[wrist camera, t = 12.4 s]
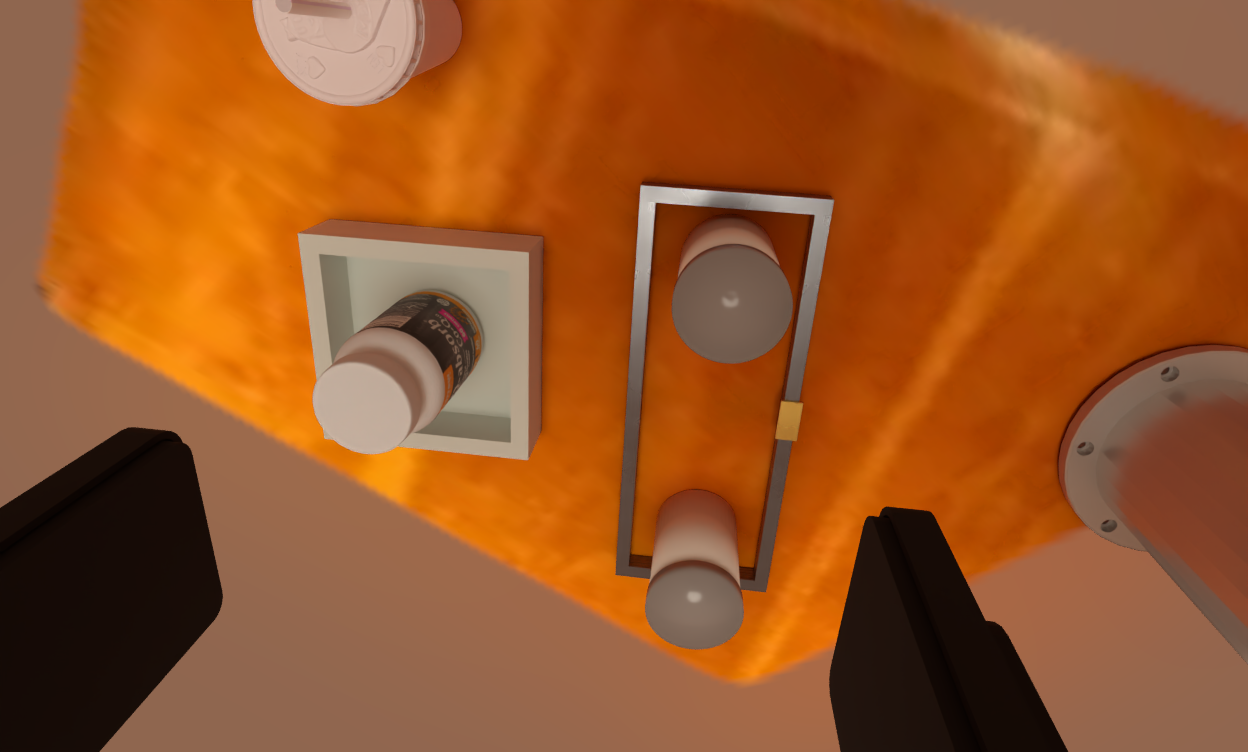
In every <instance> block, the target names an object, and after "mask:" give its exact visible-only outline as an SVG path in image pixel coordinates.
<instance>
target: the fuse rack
mask: <svg viewBox="0 0 1248 752" xmlns="http://www.w3.org/2000/svg"><path fill="white" fill-rule="evenodd" d="M657 203H667V204H680V205H693V206H706V207H719V208H732V209H745V210H758V211H771V212H784V213H797V214H810V215H811V219H810V225H809V231H808V237H807V244H806V250H805V256H804V262H803V268H802V274H801V281H800V287H799V293H798V299H797V305H796V311H795V318H794V324H793V330H792V336H791V342H790V348H789V355H788V361H787V367H786V373H785V379H784V385H783V391H782V398H781V403H780V409H779V415H778V421H777V427H776V434H775V441H774V447H773V453H772V459H771V465H770V472H769V478H768V484H767V490H766V496H765V502H764V509H763V515H762V521H761V527H760V533H759V539H758V545H757V552H756V558H755V564H754V568H745V567H739V576H740V589H742V590H751V591H759V592H766V589H767V583H768V577H769V572H770V566H771V560H772V554H773V549H774V543H775V537H776V531H777V526H778V520H779V514H780V508H781V503H782V497H783V491H784V485H785V480H786V474H787V468H788V462H789V457H790V451H791V445H792V441H797V435H798V430H799V424H800V418H801V413H802V407H803V402H801V401H799V399H800V393H801V388H802V382H803V376H804V370H805V365H806V359H807V353H808V347H809V342H810V336H811V330H812V324H813V319H814V313H815V307H816V301H817V296H818V290H819V284H820V278H821V273H822V267H823V261H824V255H825V250H826V244H827V238H828V232H829V227H830V221H831V215H832V209H833V204H834V199H833V198H832V197H831V196H828V195H815V194H802V193H788V192H775V191H762V190H748V189H735V188H722V187H709V186H695V185H682V184H669V183H655V182H642V184H641V189H640V205H639V220H638V236H637V251H636V266H635V282H634V297H633V313H632V328H631V344H630V359H629V375H628V390H627V406H626V421H625V437H624V452H623V468H622V483H621V499H620V514H619V530H618V545H617V561H616V575H621V576H630V577H638V578H647V579H650V577H651V567H652V558H653V557H648V556H639V555H631V541H632V528H633V514H634V501H635V487H636V474H637V460H638V447H639V433H640V420H641V406H642V393H643V379H644V366H645V352H646V339H647V325H648V312H649V298H650V285H651V271H652V258H653V244H654V231H655V217H656V204H657Z"/></svg>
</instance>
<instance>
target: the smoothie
mask: <svg viewBox="0 0 1248 752" xmlns="http://www.w3.org/2000/svg"><path fill="white" fill-rule="evenodd" d="M253 11H254V17H255V22H256V25H257V29H258V32H259V35H260V38H261V40H262V42H263V45H264V47H265V49H266V51H267V52H268V54H269V56H270V58H271V59H272V61H273V62H274V64H275V65H276V66H277V67H278V69H279V70H280V71H281V72H282V73H283V75H284V76H285V77H286V78H287V79H288V80H289V81H290V82H292V83H293V84H294V85H295V86H296V87H298V88H299V89H300V90H302V91H303V92H305V93H307V94H308V95H310V96H312V97H314V98H316V99H319V100H321V101H324V102H327V103H331V104H336V105H351V106H362V105H369V104H376V103H378V102H380V101H382V100H384V99H386V98H388V97H390V96H392V95H394V94H395V93H396V92H397V91H398V90H399V89H401V88H402V87H403V86H404V85H405V84H406V83H407V82H408V81H409V79H410V78H412V77H415V76H417V75H419V74H421V73H423V72H425V71H427V70H429V69H432V68H434V67H436V66H438V65H440V64H442V63H444V62H446V61H447V60H449V59H450V58H451V57H452V56H453V55H454V53H455V52H456V50H457V49H458V47H459V44H460V41H461V36H462V22H461V17H460V14H459V11H458V9H457V6H456V5H455V3H454V1H453V0H253Z"/></svg>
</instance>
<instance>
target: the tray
mask: <svg viewBox="0 0 1248 752" xmlns="http://www.w3.org/2000/svg"><path fill="white" fill-rule="evenodd" d="M298 239H299V247H300V255H301V262H302V270H303V278H304V285H305V293H306V301H307V308H308V316H309V324H310V331H311V339H312V347H313V354H314V362H315V370H316V378H317V380H318V379H319V377H320V376H321V375H322V373H323V372H324V371H325V370H326V369H328V368H329V367H330V366H331V365H332V364H333V363H334V359H335V357H336V355H337V353H338V351H339V350H340V348H341V347H342V345H343V344H344V343H345V342H346V341H347V340H348V339H349V338H350V337H351V336H353V335H354V334H355V333H357V332H358V331H360V330H361V329H362V328H364V327H365V326H366V325H368V324H369V323H370V322H372V321H373V320H374V319H376V318H377V317H378V316H379V315H381V314H382V313H383V312H384V311H386V310H387V309H388V308H390V307H391V306H392V305H393V304H395V303H396V302H398V301H399V300H400V299H402V298H404V297H405V296H407V295H409V294H412V293H414V292H418V291H424V290H434V291H440V292H444V293H447V294H449V295H452V296H453V297H455V298H457V299H459V300H460V301H461V302H463V303H464V304H465V305H466V306H467V307H468V308H469V309H470V310H471V311H472V313H473V314H474V316H475V317H476V319H477V321H478V323H479V325H480V328H481V331H482V336H483V349H482V354H481V357H480V359H479V362H478V363H477V365H476V367H475V368H474V370H473V371H472V373H471V374H470V375H469V376H468V378H467V379H466V380H465V381H464V383H463V384H462V385H461V386H460V388H459V389H458V390H457V392H456V393H455V394H454V395H453V397H452V398H451V399H450V400H449V401H448V403H447V404H446V405H445V406H444V408H443V409H442V410H441V411H440V413H439V414H438V415H437V417H436V418H435V419H434V420H433V421H432V422H431V423H430V424H428V425H427V426H426V427H424V428H423V429H421V430H419V431H417V432H414V433H412V434H410V435H409V436H408V437H407V438H406V439H405V440H404V441H403V442H402V443H401V444H400V445H398V446H399V447H408V448H418V449H427V450H437V451H446V452H456V453H465V454H475V455H484V456H494V457H504V458H513V459H523V460H529V457H530V455H531V453H532V451H533V448H534V446H535V444H536V442H537V439H538V437H539V435H540V433H541V406H542V311H543V236H531V235H519V234H507V233H494V232H482V231H470V230H458V229H445V228H433V227H421V226H408V225H396V224H384V223H372V222H359V221H347V220H335V219H329V220H327V221H325V222H322V223H320V224H318V225H316V226H313V227H311V228H309V229H306V230H304V231H302V232H299V233H298ZM323 431H324V429H323ZM324 439H332V438H331V437H330V436H329V435H328V434H327V433H326V432H325V431H324ZM332 440H333V439H332Z"/></svg>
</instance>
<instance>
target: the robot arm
mask: <svg viewBox="0 0 1248 752" xmlns="http://www.w3.org/2000/svg"><path fill="white" fill-rule="evenodd" d="M1058 467H1059V481H1060V484H1061V487H1062V490H1063V493H1064V496H1065V498H1066V500H1067V501H1068V503H1069V504H1070V506H1071V507H1072V509H1073V511H1074V512H1075V513H1076V514H1077V515H1078V516H1079V518H1080V519H1081V520H1082V521H1083V522H1084V523H1085V525H1086V526H1087V527H1089V528H1090V529H1091V530H1092V531H1094V532H1095V533H1096V534H1097V535H1099V536H1100V537H1102V538H1105V539H1107V540H1109V541H1111V542H1113V543H1115V544H1117V545H1120V546H1123V547H1127V548H1131V549H1134V550H1138V551H1147V552H1149V553H1150V555H1151V556H1152V557H1153V558H1154V559H1155V560H1156V561H1157V563H1158V564H1159V565H1160V566H1161V567H1162V568H1163V569H1164V570H1165V572H1166V573H1167V574H1168V575H1169V576H1170V577H1171V578H1172V579H1173V580H1174V582H1175V583H1176V584H1177V585H1178V586H1179V587H1180V588H1181V590H1182V591H1183V592H1184V593H1185V594H1186V595H1187V596H1188V598H1189V599H1190V600H1191V601H1192V602H1193V603H1194V604H1195V605H1196V607H1197V608H1198V609H1199V610H1200V611H1201V612H1202V613H1203V614H1204V616H1206V618H1207V619H1208V620H1209V621H1210V622H1211V623H1212V625H1213V626H1214V627H1215V628H1216V629H1217V630H1218V631H1219V632H1220V634H1222V636H1223V637H1224V638H1225V639H1226V640H1227V641H1228V643H1230V645H1231V646H1232V647H1233V648H1234V649H1235V651H1237V652H1238V654H1239V655H1240V656H1241V657H1242V658H1243V660H1245V662H1246V663H1247V664H1248V349H1245V348H1241V347H1235V346H1223V345H1204V346H1191V347H1185V348H1181V349H1176V350H1172V351H1168V352H1164V353H1161V354H1158V355H1156V356H1153V357H1151V358H1148V359H1145V360H1143V361H1140V362H1138V363H1136V364H1135V365H1133V366H1131V367H1129V368H1128V369H1126V370H1124V371H1122V372H1120V373H1119V374H1117V375H1116V376H1114V377H1113V378H1112V379H1110V380H1109V381H1108V382H1107V383H1105V384H1104V385H1103V386H1101V387H1100V388H1099V389H1098V390H1097V391H1096V392H1095V393H1094V394H1093V395H1092V396H1091V397H1090V398H1089V399H1088V400H1087V401H1086V402H1085V403H1084V404H1083V406H1082V407H1081V408H1080V409H1079V411H1078V412H1077V414H1076V416H1075V417H1074V419H1073V420H1072V422H1071V423H1070V425H1069V427H1068V429H1067V432H1066V434H1065V437H1064V439H1063V441H1062V444H1061V449H1060V455H1059V461H1058ZM222 599H223V594H222V588H221V583H220V579H219V574H218V570H217V565H216V560H215V556H214V551H213V546H212V542H211V538H210V533H209V528H208V524H207V519H206V515H205V510H204V506H203V501H202V496H201V492H200V487H199V483H198V478H197V473H196V469H195V464H194V460H193V455H192V452H191V450H190V448H189V446H188V445H186V444H184V443H183V442H182V440H181V438H180V437H179V436H178V435H177V434H176V433H174V432H172V431H165V430H155V429H146V428H136V427H131V428H127V429H124V430H121V431H120V432H118V433H117V434H115V435H114V436H112V437H110V438H109V439H107V440H106V441H104V442H103V443H101V444H99V445H98V446H96V447H95V448H93V449H92V450H90V451H88V452H87V453H85V454H84V455H82V456H81V457H79V458H78V459H76V460H74V461H73V462H71V463H70V464H68V465H67V466H65V467H64V468H62V469H60V470H59V471H57V472H56V473H54V474H53V475H51V476H49V477H48V478H46V479H45V480H43V481H42V482H40V483H38V484H37V485H35V486H34V487H32V488H31V489H29V490H28V491H26V492H24V493H23V494H21V495H20V496H18V497H17V498H15V499H13V500H12V501H10V502H9V503H7V504H6V505H4V506H2V507H1V508H0V752H100V750H101V749H102V748H103V747H104V746H105V745H106V743H107V742H108V741H109V740H110V739H111V738H112V737H113V736H114V734H115V733H116V732H117V731H118V730H119V729H120V727H121V726H122V725H123V724H124V723H125V722H126V720H127V719H128V718H129V717H130V716H131V715H132V714H133V713H134V711H135V710H136V709H137V708H138V707H139V706H140V705H141V703H142V702H143V701H144V700H145V699H146V698H147V697H148V695H149V694H150V693H151V692H152V691H153V690H154V688H155V687H156V686H157V685H158V684H159V683H160V682H161V681H162V679H163V678H164V677H165V676H166V675H167V673H169V671H170V670H171V669H172V668H173V667H174V666H175V664H176V663H177V662H178V661H179V660H180V659H181V658H182V657H183V655H184V654H185V653H186V652H187V651H188V650H189V649H190V647H191V646H192V645H193V644H194V643H195V642H196V641H197V639H198V638H199V637H200V636H201V635H202V634H203V633H204V631H205V630H206V629H207V628H208V627H209V626H210V625H211V623H212V622H213V621H214V620H215V618H216V617H217V615H218V613H219V611H220V608H221V605H222ZM829 681H830V682H829V683H830V684H829V687H830V698H831V703H832V709H833V714H834V719H835V724H836V729H837V735H838V740H839V745H840V751H841V752H1068V750H1067V748H1066V747H1065V745H1064V743H1063V741H1062V739H1061V737H1060V735H1059V733H1058V731H1057V729H1056V727H1055V725H1054V723H1053V721H1052V720H1051V718H1050V716H1049V714H1048V712H1047V710H1046V708H1045V706H1044V704H1043V702H1042V700H1041V698H1040V696H1039V694H1038V692H1037V691H1036V689H1035V687H1034V685H1033V683H1032V681H1031V679H1030V677H1029V675H1028V673H1027V671H1026V669H1025V667H1024V665H1023V663H1022V662H1021V660H1020V658H1019V656H1018V654H1017V652H1016V650H1015V648H1014V646H1013V644H1012V642H1011V640H1010V639H1009V636H1008V635H1007V634H1006V632H1005V631H1004V629H1003V628H1002V626H1000V625H998V624H997V623H995V622H991V621H986V620H985V619H984V616H983V615H982V612H981V610H980V608H979V606H978V604H977V602H976V600H975V598H974V596H973V594H972V592H971V590H970V588H969V586H968V584H967V582H966V580H965V578H964V576H963V574H962V572H961V570H960V568H959V565H958V563H957V561H956V559H955V557H954V555H953V553H952V551H951V549H950V547H949V545H948V543H947V541H946V539H945V537H944V535H943V533H942V531H941V529H940V527H939V525H938V523H937V521H936V519H935V517H934V515H933V514H932V513H931V512H929V511H924V510H914V509H905V508H895V507H885V508H883V509H882V511H881V513H880V516H879V517H875V516H868V517H867V518H866V520H865V523H864V526H863V530H862V535H861V539H860V543H859V548H858V552H857V556H856V560H855V565H854V569H853V573H852V578H851V582H850V586H849V591H848V595H847V599H846V603H845V608H844V612H843V616H842V621H841V625H840V629H839V634H838V638H837V642H836V646H835V651H834V655H833V659H832V664H831V669H830V678H829Z"/></svg>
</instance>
